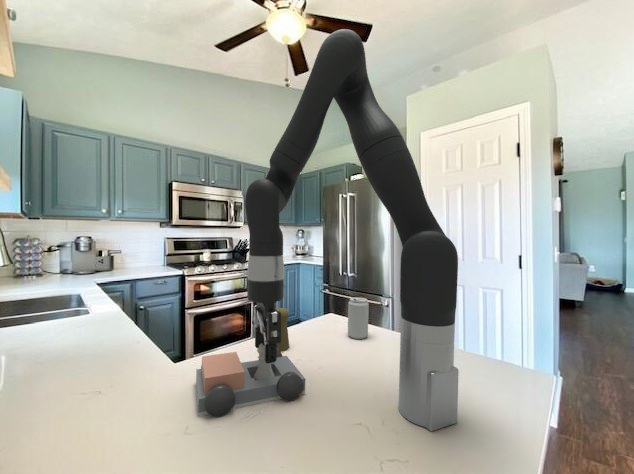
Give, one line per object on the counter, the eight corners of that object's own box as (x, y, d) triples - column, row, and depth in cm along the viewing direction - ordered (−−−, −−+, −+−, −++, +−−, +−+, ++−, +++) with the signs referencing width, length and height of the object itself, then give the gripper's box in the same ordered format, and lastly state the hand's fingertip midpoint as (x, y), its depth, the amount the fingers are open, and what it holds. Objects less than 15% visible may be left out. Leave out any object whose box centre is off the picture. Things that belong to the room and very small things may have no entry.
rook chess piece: (277, 378, 64) (277, 341, 64) (271, 389, 59) (272, 350, 59) (257, 377, 64) (257, 340, 64) (250, 387, 60) (251, 348, 60)
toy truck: (308, 397, 58) (308, 367, 58) (198, 421, 50) (199, 386, 50) (284, 365, 72) (284, 340, 72) (195, 380, 64) (196, 352, 64)
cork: (278, 353, 79) (279, 312, 79) (263, 347, 82) (264, 308, 82) (293, 347, 84) (294, 308, 83) (278, 341, 87) (279, 304, 87)
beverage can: (343, 334, 95) (344, 297, 95) (360, 332, 98) (361, 296, 98) (354, 341, 89) (355, 301, 89) (371, 338, 92) (372, 300, 92)
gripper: (294, 280, 57) (293, 365, 57) (273, 272, 70) (273, 340, 70) (255, 283, 54) (254, 372, 54) (241, 273, 66) (240, 345, 67)
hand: (265, 354), depth 62 cm, fingers open, 8 cm apart
